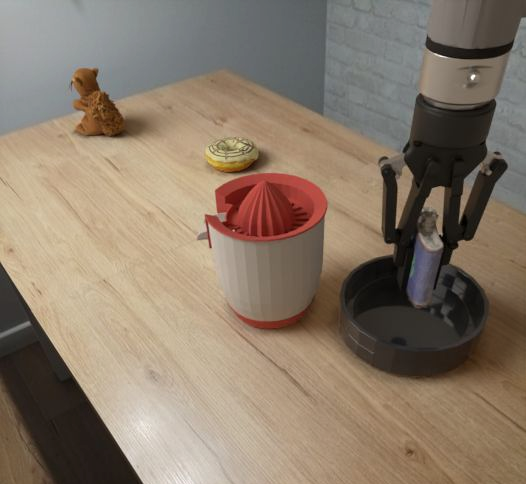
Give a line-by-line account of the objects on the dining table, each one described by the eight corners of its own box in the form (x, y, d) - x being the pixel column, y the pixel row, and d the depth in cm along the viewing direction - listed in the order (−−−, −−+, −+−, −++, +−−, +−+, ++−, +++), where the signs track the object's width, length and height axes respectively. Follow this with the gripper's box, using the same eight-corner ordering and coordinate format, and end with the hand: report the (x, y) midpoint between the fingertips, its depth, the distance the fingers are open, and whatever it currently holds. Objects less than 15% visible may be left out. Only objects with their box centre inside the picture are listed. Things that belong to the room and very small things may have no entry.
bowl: (458, 280, 79) (467, 251, 75) (496, 377, 66) (509, 348, 62) (332, 285, 80) (334, 256, 75) (344, 381, 66) (347, 353, 62)
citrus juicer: (220, 267, 84) (203, 148, 69) (327, 273, 81) (333, 152, 67) (196, 335, 74) (170, 213, 59) (318, 345, 71) (323, 220, 56)
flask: (431, 309, 64) (449, 236, 56) (407, 308, 64) (421, 236, 56) (422, 263, 70) (437, 191, 62) (400, 263, 70) (412, 191, 62)
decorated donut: (268, 163, 107) (267, 145, 104) (225, 180, 103) (223, 162, 100) (240, 145, 113) (238, 128, 110) (198, 161, 109) (195, 144, 106)
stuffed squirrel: (108, 115, 127) (92, 57, 117) (140, 132, 120) (126, 71, 110) (72, 129, 123) (52, 69, 113) (102, 147, 115) (85, 85, 106)
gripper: (378, 115, 47) (356, 304, 65) (557, 107, 47) (487, 301, 64) (367, 83, 52) (350, 267, 70) (528, 76, 52) (471, 263, 69)
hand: (415, 283), depth 67 cm, fingers closed on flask, 3 cm apart
